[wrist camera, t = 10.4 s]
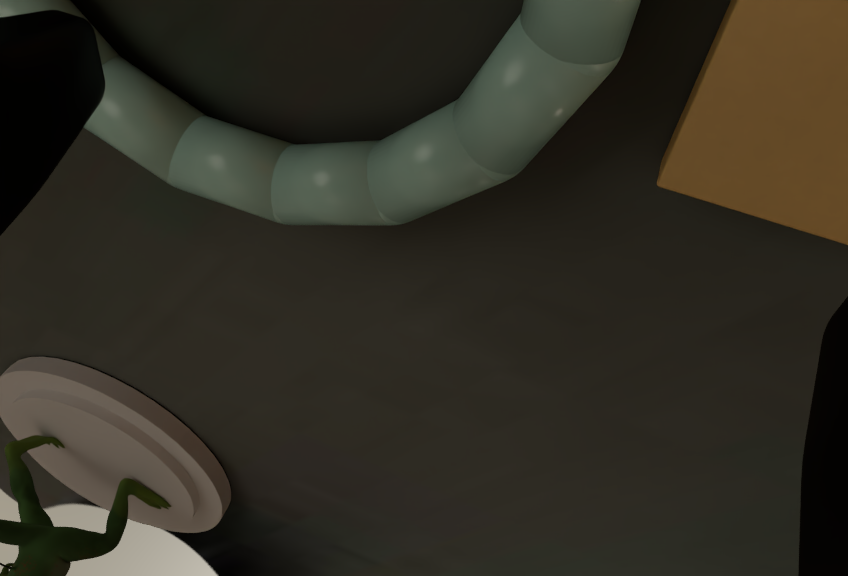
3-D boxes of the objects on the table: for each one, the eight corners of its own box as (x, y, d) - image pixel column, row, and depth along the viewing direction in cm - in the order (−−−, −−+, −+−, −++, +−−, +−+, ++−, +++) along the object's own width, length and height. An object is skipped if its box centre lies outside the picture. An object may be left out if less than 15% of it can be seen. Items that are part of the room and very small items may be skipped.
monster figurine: (122, 514, 42) (-11, 704, 35) (-40, 367, 36) (-239, 560, 29) (277, 522, 36) (152, 757, 29) (112, 344, 29) (-98, 586, 23)
